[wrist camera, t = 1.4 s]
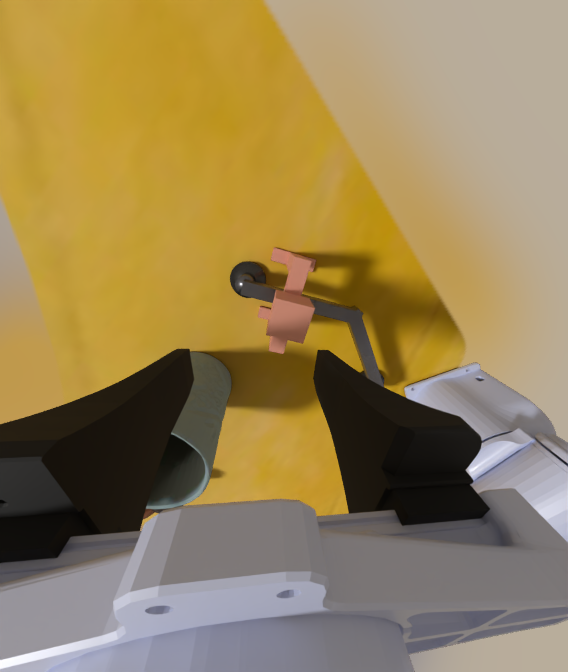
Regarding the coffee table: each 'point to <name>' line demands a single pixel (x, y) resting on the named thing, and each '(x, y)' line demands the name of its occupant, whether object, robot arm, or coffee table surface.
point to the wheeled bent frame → (253, 285)
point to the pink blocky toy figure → (289, 303)
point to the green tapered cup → (193, 437)
